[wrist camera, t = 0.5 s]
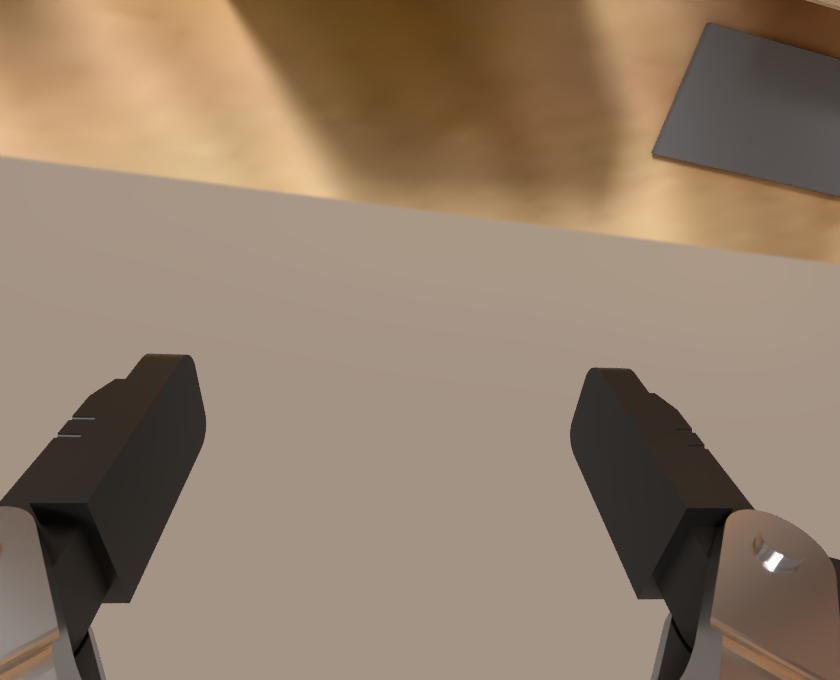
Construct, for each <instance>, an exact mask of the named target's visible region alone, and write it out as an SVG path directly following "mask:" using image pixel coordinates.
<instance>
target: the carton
mask: <svg viewBox="0 0 840 680" xmlns="http://www.w3.org/2000/svg"><path fill="white" fill-rule="evenodd" d="M806 1H809V2H813V3H816V4H819V5H823V6H826V7H829V8H833V9H836V10H839V11H840V0H806Z"/></svg>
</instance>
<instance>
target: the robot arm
mask: <svg viewBox="0 0 840 680" xmlns="http://www.w3.org/2000/svg"><path fill="white" fill-rule="evenodd" d="M205 432H206V416H205V411H204V406H203V401H202V396H201V392H200V387H199V383H198V377H197V373H196V368H195V364H194V361H193V359H192V357H190V356H189V355H174V354H146V355H145V356H144V357H143V358H142V359H141V360H140V361H139V362H138V364H137V365H136V366H135V368H134V369H133V370H132V371H131V373H130V374H129V375H128V377H127V378H126V379H115V380H113V381H112V382H110V383H108V384H107V385H105V386H104V387H102V388H101V389H99V390H98V391H96V392H95V393H93V394H92V395H90V396H89V397H88V398H87V399H86V401H85V402H84V403H83V404H82V405H81V406H80V408H79V409H78V410H77V411H76V412H75V414H74V415H73V418H72V420H69V421H68V422H67V423H66V424H65V425H64V427H63V428H62V429H61V430H60V432H58V437H57V438H53V440H52V441H51V442H50V443H49V444H48V446H47V447H46V448H45V449H44V450H43V451H42V453H41V454H40V455H39V456H38V457H37V459H36V460H35V461H34V462H33V463H32V464H31V466H30V467H29V468H28V469H27V470H26V471H25V473H24V474H23V475H22V476H21V478H20V479H19V480H18V481H17V482H16V483H15V485H14V486H13V487H12V488H11V489H10V490H9V492H8V493H7V494H6V495H5V496H4V498H3V499H2V500H1V501H0V680H106V677H105V673H104V669H103V666H102V662H101V658H100V655H99V651H98V647H97V644H96V640H95V637H94V633H93V630H92V628H91V626H90V625H91V623H92V621H93V619H94V617H95V615H96V613H97V611H98V609H99V607H100V605H101V604H102V603H130V601H131V599H132V597H133V595H134V592H135V590H136V588H137V585H138V584H139V582H140V579H141V577H142V575H143V573H144V571H145V568H146V566H147V564H148V562H149V560H150V558H151V556H152V553H153V551H154V549H155V547H156V545H157V543H158V541H159V538H160V536H161V534H162V532H163V529H164V528H165V525H166V523H167V521H168V519H169V517H170V515H171V512H172V510H173V508H174V506H175V504H176V502H177V499H178V497H179V495H180V493H181V491H182V488H183V487H184V484H185V482H186V480H187V478H188V476H189V474H190V471H191V469H192V467H193V465H194V463H195V461H196V459H197V456H198V454H199V452H200V450H201V447H202V445H203V442H204V438H205ZM570 439H571V440H570V441H571V447H572V450H573V454H574V456H575V458H576V461H577V463H578V465H579V467H580V470H581V472H582V474H583V476H584V479H585V481H586V483H587V485H588V488H589V490H590V492H591V494H592V497H593V499H594V501H595V503H596V506H597V508H598V510H599V512H600V515H601V517H602V519H603V521H604V523H605V526H606V528H607V530H608V533H609V535H610V537H611V540H612V542H613V544H614V546H615V549H616V551H617V553H618V555H619V558H620V560H621V562H622V564H623V567H624V569H625V571H626V573H627V576H628V578H629V580H630V582H631V585H632V587H633V589H634V591H635V594H636V596H637V598H638V599H664V600H665V602H666V604H667V606H668V608H669V610H670V613H669V614H668V616H667V618H666V620H665V622H664V626H663V630H662V634H661V638H660V643H659V647H658V651H657V655H656V659H655V664H654V668H653V673H652V676H651V680H840V560H838V559H835V558H831V557H828V555H827V554H826V552H825V551H824V550H823V549H822V547H821V546H820V545H819V544H818V543H817V542H816V541H815V540H814V539H812V538H811V537H810V536H809V535H808V534H807V533H805V532H804V531H803V530H801V529H800V528H798V527H797V526H795V525H793V524H792V523H790V522H788V521H786V520H784V519H782V518H780V517H778V516H775V515H773V514H770V513H767V512H763V511H758V510H755V509H754V508H753V507H752V505H751V504H750V503H749V502H748V501H747V499H746V498H745V497H744V495H743V494H742V493H741V491H740V490H739V489H738V487H737V486H736V485H735V484H734V482H733V481H732V480H731V478H730V477H729V476H728V475H727V473H726V472H725V471H724V470H723V468H722V467H721V466H720V464H719V463H718V462H717V460H716V459H715V458H714V457H713V455H712V454H711V453H710V451H709V450H708V449H705V448H704V444H703V442H702V441H701V440H700V439H699V437H698V436H697V435H696V433H692V429H691V427H690V426H689V424H688V423H687V422H686V420H685V419H684V418H683V417H682V415H681V414H680V413H679V411H678V410H677V409H675V408H674V407H673V406H671V405H670V404H669V403H667V402H666V401H665V400H663V399H662V398H660V397H659V396H658V395H656V394H655V393H649V392H648V391H647V389H646V388H645V387H644V386H643V384H642V383H641V381H640V380H639V379H638V377H637V376H636V374H635V373H634V372H633V371H632V370H631V369H625V368H624V369H623V368H591V369H590V370H589V371H588V373H587V375H586V378H585V381H584V385H583V388H582V391H581V394H580V397H579V401H578V404H577V407H576V410H575V414H574V417H573V420H572V424H571V430H570Z"/></svg>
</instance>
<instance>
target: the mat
mask: <svg viewBox="0 0 840 680" xmlns="http://www.w3.org/2000/svg"><path fill="white" fill-rule="evenodd" d="M652 153H653V154H656V155H661V156H665V157H669V158H674V159H678V160H682V161H687V162H691V163H696V164H700V165H704V166H709V167H713V168H717V169H722V170H726V171H730V172H735V173H739V174H743V175H748V176H752V177H757V178H761V179H765V180H770V181H774V182H778V183H783V184H787V185H791V186H796V187H800V188H804V189H809V190H813V191H818V192H822V193H826V194H831V195H835V196H839V197H840V59H837V58H833V57H830V56H826V55H822V54H819V53H815V52H812V51H808V50H805V49H801V48H797V47H794V46H790V45H787V44H783V43H780V42H776V41H773V40H769V39H765V38H762V37H758V36H755V35H751V34H748V33H744V32H740V31H737V30H733V29H730V28H726V27H723V26H719V25H716V24H712V23H707V24H706V27H705V29H704V31H703V34H702V36H701V38H700V41H699V43H698V45H697V48H696V50H695V52H694V55H693V57H692V59H691V62H690V64H689V66H688V69H687V71H686V73H685V76H684V78H683V80H682V83H681V85H680V87H679V90H678V92H677V94H676V97H675V99H674V101H673V104H672V106H671V109H670V111H669V113H668V116H667V118H666V120H665V123H664V125H663V127H662V130H661V132H660V134H659V137H658V139H657V141H656V144H655V146H654V148H653V151H652Z"/></svg>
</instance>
